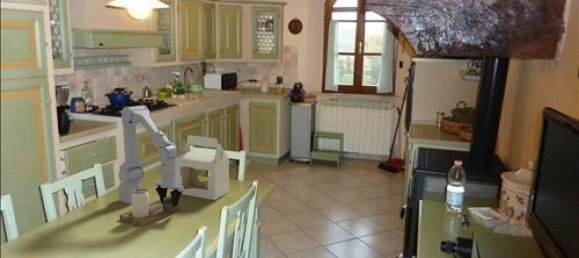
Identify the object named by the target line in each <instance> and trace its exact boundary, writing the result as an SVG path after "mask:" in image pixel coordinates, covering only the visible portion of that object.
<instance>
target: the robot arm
mask: <svg viewBox="0 0 579 258" xmlns="http://www.w3.org/2000/svg"><path fill="white" fill-rule="evenodd" d="M150 115H151V112H150V110H149V108H148V107H147V106H146V105H145V104H141V105H136V106H135V105H134V106H125V107H124V108H122V110H121V125H122V131H123V149H124V162H122V164H120V165H119V172H118V179H119V180H120V183H119V184H118V199H117V202H120V203H125V204H128V205H131V206H132V194H133V191H134V190H136V189H141V182H142V181H143V179H144V177H145V169H144V167H143V163H142V162H140V161H138V146H137V145H138V144H137V143H138V142H137V126H138V125H139V124H141V125H142V127H144V129H145V130H146V131H147V132H148V133H149V135H150V141H151V142H152V143H153V145H154V146H155V148H156V149H157V151H158V152H157V154H158V157H159V161H160V164H161V180H155V181H154V186H155V191H156V193H157V195H158V197H159V201H161V204H163V198H165V197H168V196H167V195H168V189H170V190H171V191H170V192H169V193H170V196H172V204H173V207H176V206H179V201H180V198H181V195H182V192H183V191H184V186H181V185H179V184H177V183H176V157H177V156H178V155H179V151H180V150H179V147H178V146H177V144H175V143H173V142H170V140H169V139H168V137H167V136H166V135H165V133H164V132H163V131H160V130H158V128H157V126H156V125H155V123H154V121H153V120H152V119H151V116H150Z"/></svg>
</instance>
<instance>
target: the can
mask: <svg viewBox="0 0 579 258" xmlns="http://www.w3.org/2000/svg"><path fill="white" fill-rule="evenodd" d="M149 204H150V195H149V191H148V189H146V188H140V189H136V190H134V191H133V194H132V205H131V209H132V210H131V211H132V217H136V218H139V219H141V218H143V217H146V216H149Z"/></svg>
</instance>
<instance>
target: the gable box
mask: <svg viewBox="0 0 579 258" xmlns="http://www.w3.org/2000/svg"><path fill="white" fill-rule="evenodd" d="M219 141H220V140H219V139H218V138H217V137H209V136H203V135H194V134H189V135H187V139H186V140H183V142H182V145H181V147H180V150H179V155H178V156H177V157H176V183H177V184H179V185H181V186H184V191H183V192H182V194H183V195H184V196H189V197H194V198H200V199H207V200H211V201H216V200H217V199H220V198H221V197H223V196H225V195H227V194H228V193H230V158H229V156H228V154H227V152H226V151H225V150H224V148H223V144H220V143H219ZM192 145H193V146H200V147H201V146H202V147H209V148H215V155H214V154H208V153H200V152H199V153H198V152H193V151H192V149H191V146H192ZM199 170H204V171H207V172H208V173H209V176H208V179H207V180H206V181H201V180H199V178H198V177H199ZM182 194H181V195H182ZM183 195H182V196H183Z"/></svg>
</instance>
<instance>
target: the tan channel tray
mask: <svg viewBox="0 0 579 258" xmlns="http://www.w3.org/2000/svg"><path fill="white" fill-rule="evenodd" d="M179 211H180V205H178V206H176V207H173V204H172V196H171V195H168V196H167V197H165V198H163V204H161V200H157V201H154V202H151V203H149V216H146V217H143V218H141V219H139V218H136V217H132V210H130V211H126V212H125V213H121V214H119V220H120V221H122V222H126V223H129V224H132V225H135V226H138V227H143V226H145V225H149V224H150V223H152V222H155V221H158V220H160V219H162V218H165V217H167V216H170V215H172V214H174V213H177V212H179Z"/></svg>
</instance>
